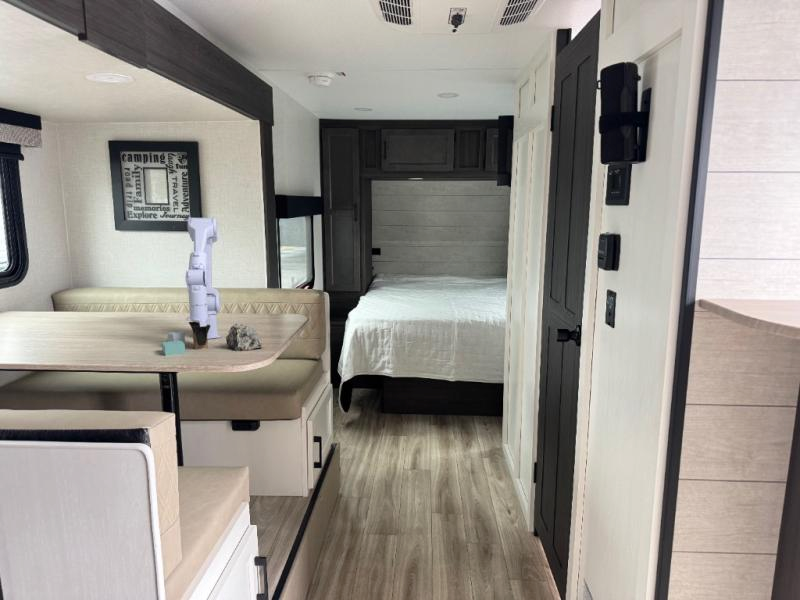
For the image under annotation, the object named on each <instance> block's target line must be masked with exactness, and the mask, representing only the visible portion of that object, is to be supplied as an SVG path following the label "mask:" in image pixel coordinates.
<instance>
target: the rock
mask: <svg viewBox="0 0 800 600" xmlns="http://www.w3.org/2000/svg"><path fill="white" fill-rule="evenodd" d="M225 340H226V345H227V346H228V347H230V348H232V349H234V351H242V350H246V351H252V350H255V349H260V348H261V349H262V348H263V341H262V339H261V338H260V337H259V333H258V332H256V330H255V328H254V327H253V326H252V325H251V326H249V325H245V324H243V323H241V324H238V323H235V324H233V325H232V326H230V330H228V334H227V335H226V337H225Z"/></svg>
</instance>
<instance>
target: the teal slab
mask: <svg viewBox="0 0 800 600" xmlns="http://www.w3.org/2000/svg"><path fill="white" fill-rule="evenodd" d="M161 347H162V351H161V352H162V353H163V355H164V354H165V355H164V356H165V357H167V356H166V355H171V356H174V355H173V354H179V355H183V354H182V353H185V354H186V343H185V344H184V343H183V342H182V341H181V340H179V341H170V342H168V341H163V342H161Z"/></svg>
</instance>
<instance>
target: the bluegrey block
mask: <svg viewBox="0 0 800 600" xmlns="http://www.w3.org/2000/svg"><path fill="white" fill-rule="evenodd" d="M185 337H186V336H185V332H183V331H180V330H177V331H172V332H167V342H170V341H179V340H181V341H182V342H183V343H184V344H185V345H186V338H185Z"/></svg>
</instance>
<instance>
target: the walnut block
mask: <svg viewBox="0 0 800 600" xmlns="http://www.w3.org/2000/svg"><path fill="white" fill-rule="evenodd" d="M192 339H193V341H192V342H193V344H192V345H193V348H194V349H195V350H202V348H205V349H208V348H209V342H208V340H209V339H208V338H207V339H206V344H205V345H202V346H199V345H198V341H197V337H196V333H193V332H192Z"/></svg>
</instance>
